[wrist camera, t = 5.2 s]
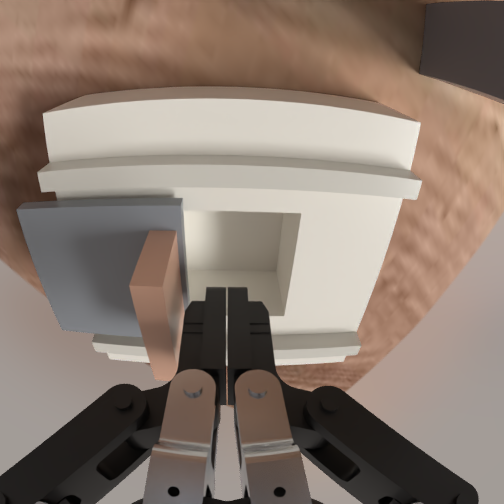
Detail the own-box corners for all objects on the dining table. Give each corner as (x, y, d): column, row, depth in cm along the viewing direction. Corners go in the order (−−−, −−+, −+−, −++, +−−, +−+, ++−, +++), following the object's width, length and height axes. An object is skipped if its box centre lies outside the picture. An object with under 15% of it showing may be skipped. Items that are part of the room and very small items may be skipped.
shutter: (23, 202, 11) (-24, 253, 8) (182, 198, 11) (165, 258, 8) (65, 321, 15) (43, 376, 12) (193, 330, 15) (187, 393, 12)
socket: (85, 95, 12) (28, 120, 8) (379, 102, 13) (434, 130, 9) (123, 311, 20) (105, 372, 16) (329, 314, 21) (347, 374, 17)
